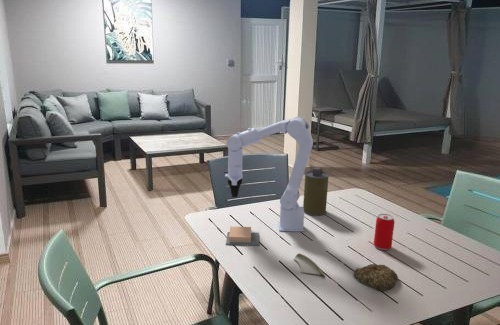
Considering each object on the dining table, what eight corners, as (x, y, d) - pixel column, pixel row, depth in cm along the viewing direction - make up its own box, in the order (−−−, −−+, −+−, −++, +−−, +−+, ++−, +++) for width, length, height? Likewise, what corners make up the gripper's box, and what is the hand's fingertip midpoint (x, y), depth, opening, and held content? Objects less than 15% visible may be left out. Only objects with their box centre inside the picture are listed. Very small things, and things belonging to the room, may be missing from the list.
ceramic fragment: (325, 277, 126) (326, 266, 125) (312, 282, 123) (313, 271, 122) (297, 259, 137) (298, 248, 136) (285, 262, 134) (286, 252, 134)
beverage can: (392, 245, 147) (396, 215, 144) (390, 252, 142) (394, 221, 139) (374, 241, 150) (378, 211, 147) (372, 248, 144) (375, 217, 141)
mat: (258, 233, 154) (258, 232, 154) (259, 245, 145) (259, 244, 145) (227, 232, 154) (227, 231, 154) (225, 244, 145) (225, 243, 145)
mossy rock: (380, 295, 117) (382, 280, 116) (347, 276, 126) (349, 262, 125) (406, 282, 124) (408, 267, 123) (373, 265, 134) (374, 251, 132)
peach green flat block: (251, 226, 154) (250, 237, 146) (251, 231, 155) (250, 242, 146) (230, 226, 154) (229, 236, 146) (230, 231, 155) (229, 241, 146)
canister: (322, 217, 171) (325, 172, 166) (299, 213, 175) (301, 169, 170) (329, 209, 180) (332, 166, 175) (306, 205, 185) (309, 163, 179)
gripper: (226, 159, 167) (226, 190, 170) (224, 169, 153) (223, 202, 156) (243, 160, 167) (242, 190, 170) (242, 169, 153) (241, 203, 156)
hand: (234, 196), depth 163 cm, fingers closed
